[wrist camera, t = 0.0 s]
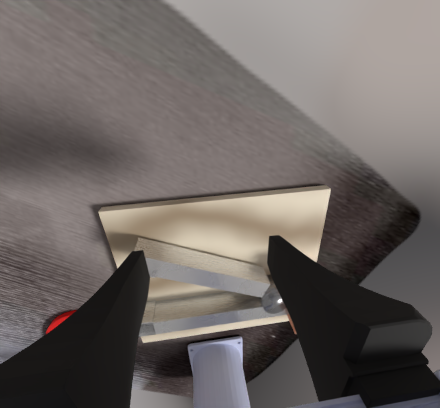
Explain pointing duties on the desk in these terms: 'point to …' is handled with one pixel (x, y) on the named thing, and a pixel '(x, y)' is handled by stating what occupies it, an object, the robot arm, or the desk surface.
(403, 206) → the desk surface
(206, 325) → the tong base
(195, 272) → the bar
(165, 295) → the board
